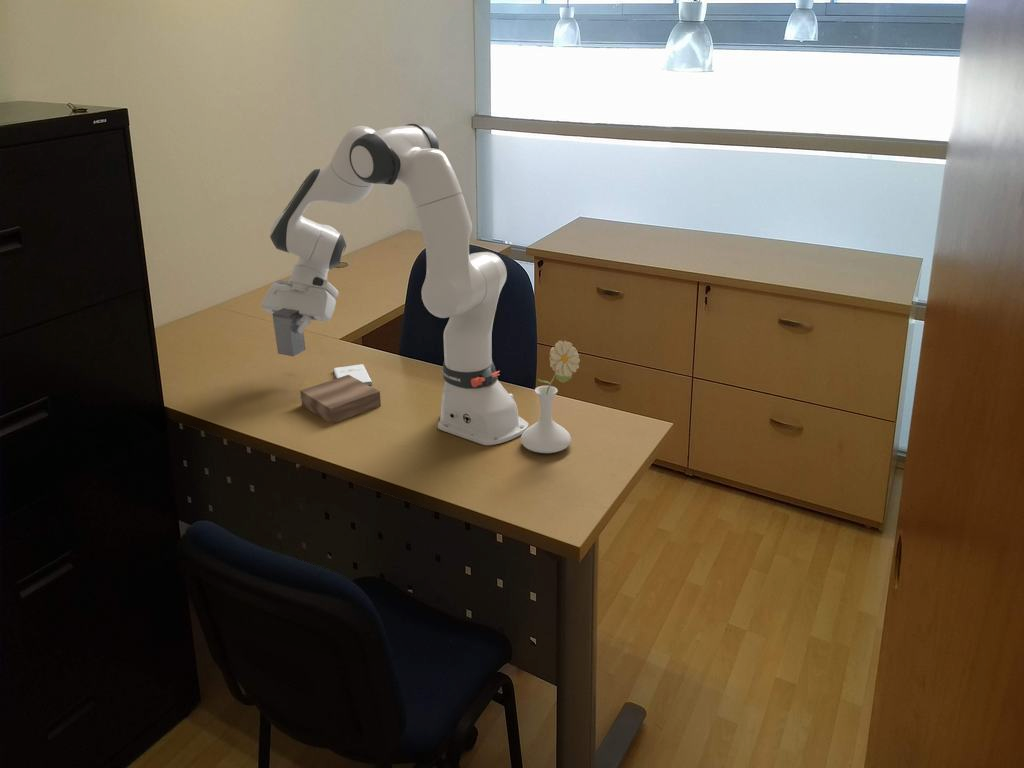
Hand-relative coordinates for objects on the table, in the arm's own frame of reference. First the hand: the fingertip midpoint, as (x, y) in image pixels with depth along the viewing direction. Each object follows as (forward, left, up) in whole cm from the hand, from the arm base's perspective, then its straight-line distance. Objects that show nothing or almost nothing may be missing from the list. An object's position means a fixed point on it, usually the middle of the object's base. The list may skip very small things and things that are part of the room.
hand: (287, 331), depth 220 cm
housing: (0, -1, -6) cm, 6 cm away
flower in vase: (-71, -24, -15) cm, 76 cm away
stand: (-21, -1, -14) cm, 25 cm away
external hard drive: (-8, -13, -15) cm, 21 cm away
